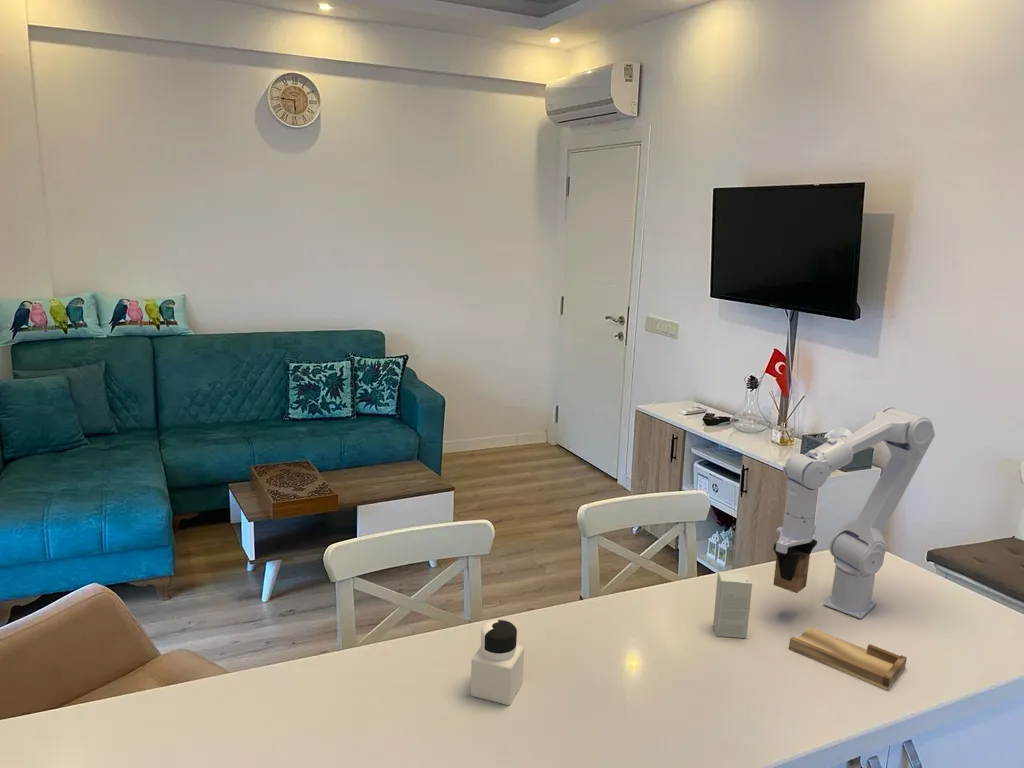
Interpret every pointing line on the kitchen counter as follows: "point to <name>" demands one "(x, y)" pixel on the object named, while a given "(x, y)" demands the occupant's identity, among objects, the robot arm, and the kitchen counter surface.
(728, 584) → the skincare box
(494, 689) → the medicine bottle
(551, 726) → the kitchen counter surface
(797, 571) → the cabinet block
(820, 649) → the cleat board
